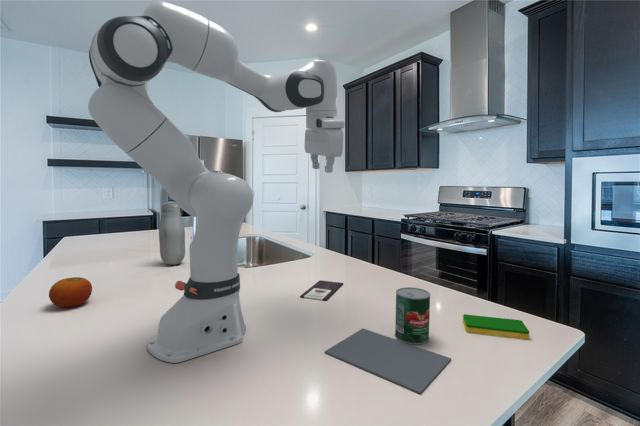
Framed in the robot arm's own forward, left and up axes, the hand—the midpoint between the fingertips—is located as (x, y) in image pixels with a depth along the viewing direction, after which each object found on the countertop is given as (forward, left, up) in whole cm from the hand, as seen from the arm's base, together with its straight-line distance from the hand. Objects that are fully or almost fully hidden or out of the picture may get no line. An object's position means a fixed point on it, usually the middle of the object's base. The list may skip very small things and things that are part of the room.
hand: (322, 170), depth 101 cm
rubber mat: (-16, -31, -40) cm, 53 cm away
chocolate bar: (+8, +7, -41) cm, 42 cm away
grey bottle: (-8, +80, -40) cm, 90 cm away
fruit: (-51, +56, -40) cm, 85 cm away
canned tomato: (-4, -31, -40) cm, 51 cm away
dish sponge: (+13, -45, -41) cm, 62 cm away
